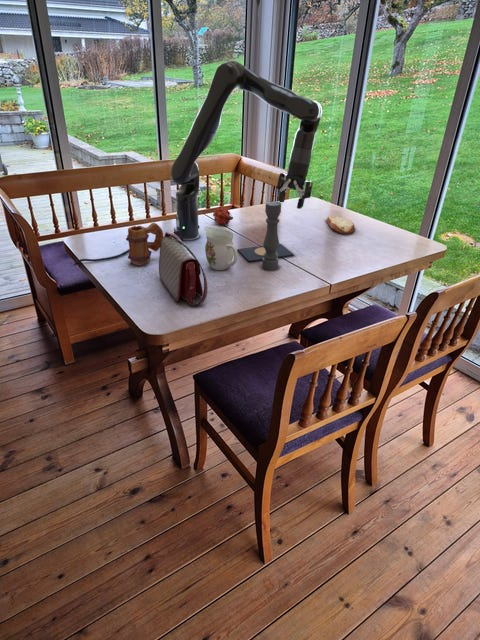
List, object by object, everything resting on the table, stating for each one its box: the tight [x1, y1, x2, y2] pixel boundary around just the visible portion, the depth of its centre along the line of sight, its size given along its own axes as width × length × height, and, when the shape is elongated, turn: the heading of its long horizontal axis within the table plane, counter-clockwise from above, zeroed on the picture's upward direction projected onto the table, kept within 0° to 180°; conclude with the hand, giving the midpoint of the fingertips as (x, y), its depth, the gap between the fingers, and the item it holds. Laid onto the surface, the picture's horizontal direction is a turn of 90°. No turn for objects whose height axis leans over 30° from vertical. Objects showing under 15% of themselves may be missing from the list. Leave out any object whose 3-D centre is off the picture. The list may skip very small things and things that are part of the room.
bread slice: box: [326, 215, 356, 236], centre depth 217 cm, size 18×18×4 cm
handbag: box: [158, 231, 208, 306], centre depth 153 cm, size 28×11×17 cm, turn 25°
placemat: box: [236, 243, 295, 263], centre depth 188 cm, size 20×13×1 cm, turn 111°
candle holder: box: [261, 200, 282, 271], centre depth 170 cm, size 6×6×25 cm
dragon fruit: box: [212, 205, 234, 226], centre depth 218 cm, size 8×8×12 cm
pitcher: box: [204, 226, 239, 271], centre depth 172 cm, size 11×18×14 cm, turn 41°
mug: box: [125, 222, 164, 266], centre depth 175 cm, size 15×8×15 cm, turn 117°
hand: (290, 205), depth 171 cm, fingers open, 8 cm apart
